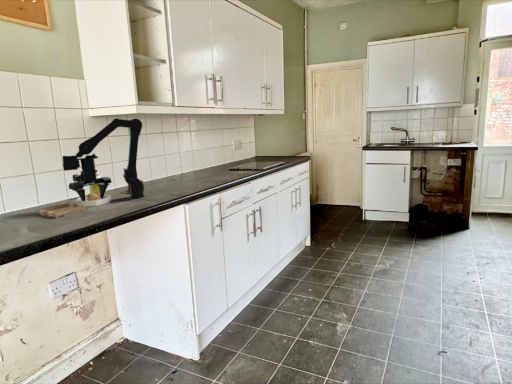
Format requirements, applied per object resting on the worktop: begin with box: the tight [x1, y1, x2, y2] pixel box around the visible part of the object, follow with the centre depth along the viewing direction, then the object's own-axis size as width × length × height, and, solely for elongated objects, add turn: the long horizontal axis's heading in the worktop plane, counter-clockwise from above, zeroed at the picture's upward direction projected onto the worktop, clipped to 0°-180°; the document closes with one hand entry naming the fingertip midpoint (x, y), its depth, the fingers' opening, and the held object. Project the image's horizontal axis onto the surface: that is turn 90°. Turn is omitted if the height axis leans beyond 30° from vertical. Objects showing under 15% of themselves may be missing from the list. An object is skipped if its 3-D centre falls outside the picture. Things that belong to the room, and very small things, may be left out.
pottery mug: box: [126, 179, 145, 194], centre depth 194 cm, size 12×10×8 cm
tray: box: [37, 202, 88, 219], centre depth 155 cm, size 14×14×2 cm
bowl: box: [73, 193, 112, 208], centre depth 169 cm, size 15×15×3 cm
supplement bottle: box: [88, 171, 102, 195], centre depth 186 cm, size 7×7×13 cm
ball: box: [86, 192, 98, 201], centre depth 168 cm, size 5×5×5 cm
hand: (93, 200), depth 169 cm, fingers open, 9 cm apart
